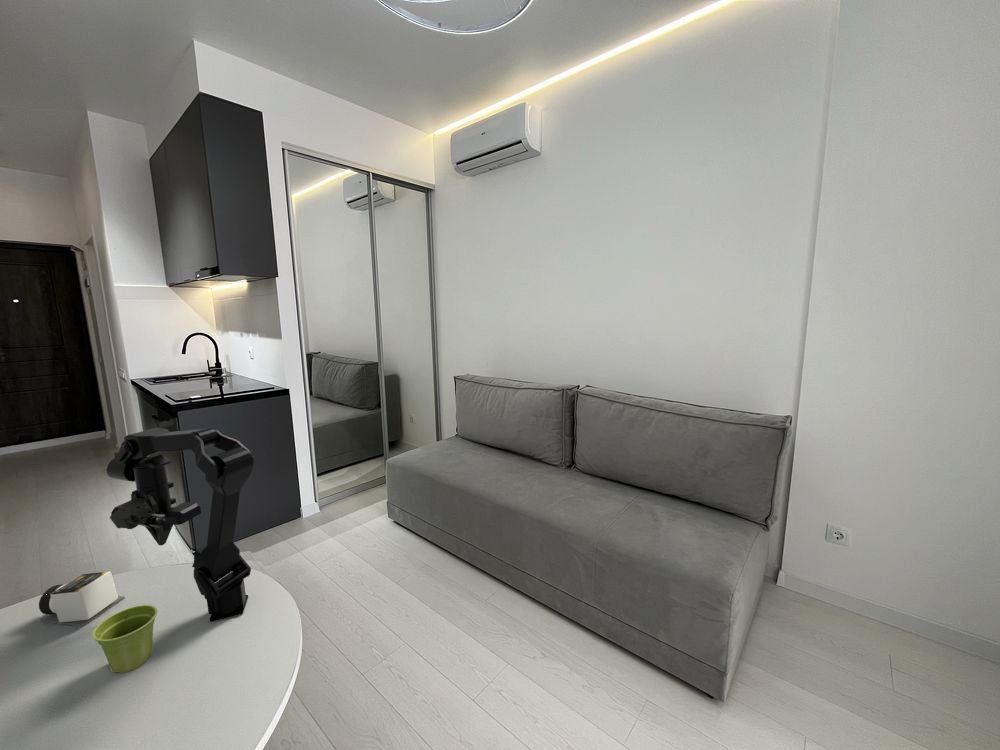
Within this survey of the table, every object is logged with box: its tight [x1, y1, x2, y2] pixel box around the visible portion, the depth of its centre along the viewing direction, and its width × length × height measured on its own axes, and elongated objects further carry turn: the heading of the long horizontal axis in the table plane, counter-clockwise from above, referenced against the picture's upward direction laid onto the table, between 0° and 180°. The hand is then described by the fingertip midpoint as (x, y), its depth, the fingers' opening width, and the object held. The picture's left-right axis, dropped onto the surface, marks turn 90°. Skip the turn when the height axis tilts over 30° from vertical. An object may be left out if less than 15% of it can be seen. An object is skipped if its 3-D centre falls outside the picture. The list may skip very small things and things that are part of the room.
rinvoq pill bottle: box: [38, 570, 119, 622], centre depth 94 cm, size 7×7×12 cm
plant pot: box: [91, 604, 158, 674], centre depth 81 cm, size 9×9×9 cm
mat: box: [40, 595, 126, 628], centre depth 95 cm, size 11×9×1 cm
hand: (162, 544), depth 98 cm, fingers closed
